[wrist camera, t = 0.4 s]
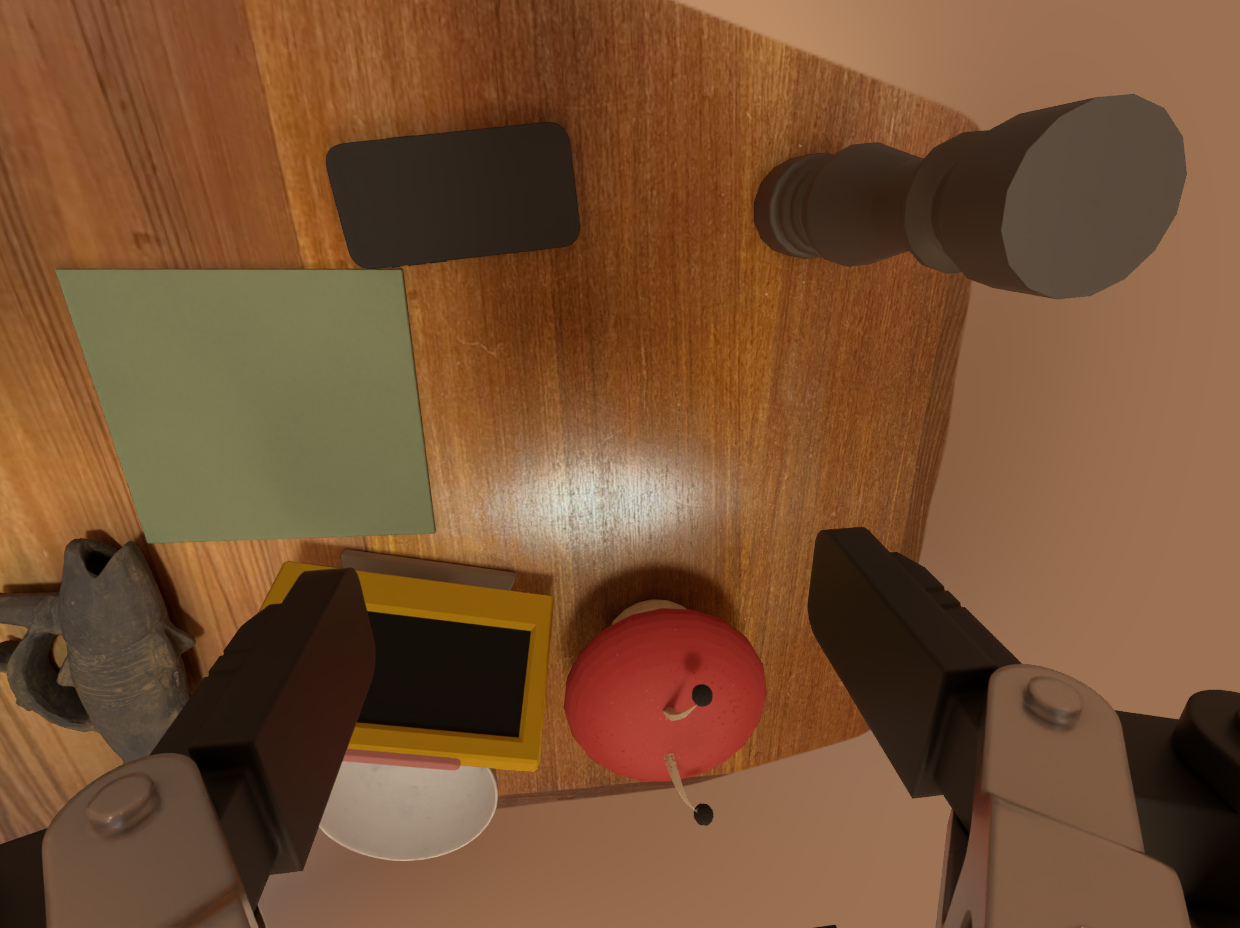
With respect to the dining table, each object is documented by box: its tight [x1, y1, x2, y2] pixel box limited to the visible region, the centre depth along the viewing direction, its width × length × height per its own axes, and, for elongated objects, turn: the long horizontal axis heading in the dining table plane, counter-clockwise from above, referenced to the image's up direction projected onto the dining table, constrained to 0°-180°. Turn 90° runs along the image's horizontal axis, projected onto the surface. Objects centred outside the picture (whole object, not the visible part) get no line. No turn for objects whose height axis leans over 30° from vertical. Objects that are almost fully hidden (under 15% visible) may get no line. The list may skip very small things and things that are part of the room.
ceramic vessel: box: [0, 538, 196, 765], centre depth 48 cm, size 5×25×15 cm
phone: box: [326, 122, 580, 269], centre depth 39 cm, size 7×1×15 cm
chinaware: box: [319, 761, 498, 861], centre depth 52 cm, size 15×15×8 cm
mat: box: [55, 269, 435, 543], centre depth 43 cm, size 20×22×1 cm
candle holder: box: [754, 94, 1187, 299], centre depth 30 cm, size 6×6×25 cm
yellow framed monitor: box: [258, 549, 554, 772], centre depth 43 cm, size 20×8×16 cm, turn 78°
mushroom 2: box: [564, 599, 767, 825], centre depth 47 cm, size 16×16×15 cm
